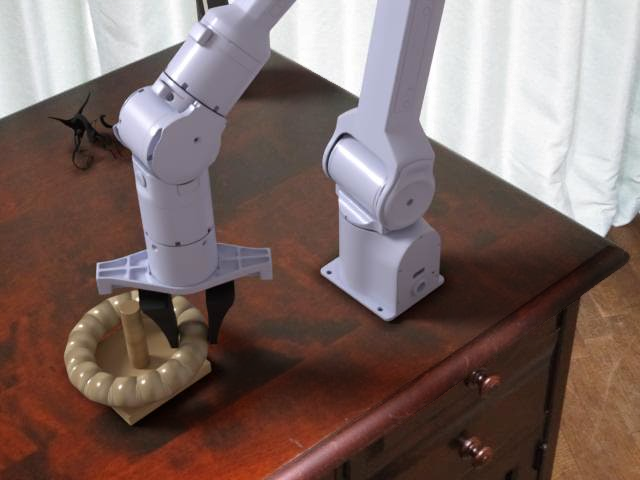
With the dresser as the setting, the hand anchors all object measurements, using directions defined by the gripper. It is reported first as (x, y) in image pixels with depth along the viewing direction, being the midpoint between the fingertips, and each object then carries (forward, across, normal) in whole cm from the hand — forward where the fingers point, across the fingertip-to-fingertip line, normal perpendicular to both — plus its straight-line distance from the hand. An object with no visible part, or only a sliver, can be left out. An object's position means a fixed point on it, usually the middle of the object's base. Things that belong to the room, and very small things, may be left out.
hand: (194, 338), depth 102 cm
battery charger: (+4, -4, -44) cm, 45 cm away
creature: (+4, +10, -34) cm, 35 cm away
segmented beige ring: (0, +5, 0) cm, 5 cm away
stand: (+3, +5, 0) cm, 6 cm away
